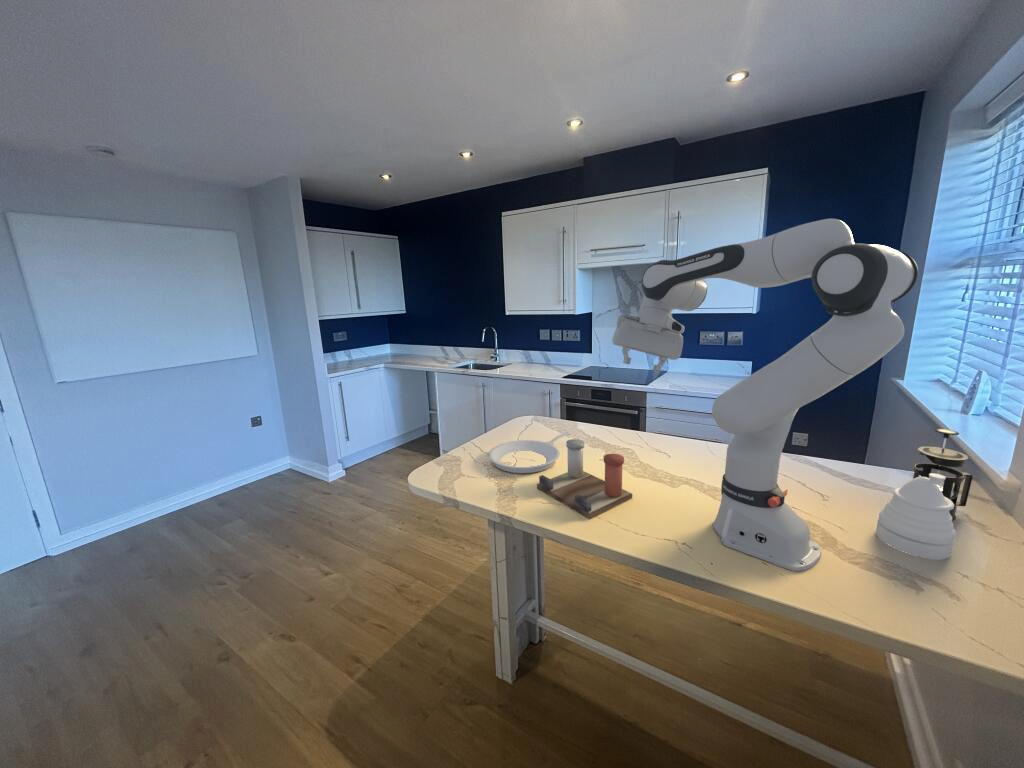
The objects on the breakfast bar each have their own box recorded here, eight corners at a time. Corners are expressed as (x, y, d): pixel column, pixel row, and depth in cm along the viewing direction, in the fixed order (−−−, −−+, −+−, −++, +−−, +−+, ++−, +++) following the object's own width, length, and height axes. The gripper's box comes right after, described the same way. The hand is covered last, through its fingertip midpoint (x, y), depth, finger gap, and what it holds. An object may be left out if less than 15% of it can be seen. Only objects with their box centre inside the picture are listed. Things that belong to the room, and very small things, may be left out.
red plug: (627, 493, 119) (628, 458, 117) (614, 499, 116) (614, 463, 113) (612, 486, 124) (612, 452, 121) (599, 491, 121) (599, 457, 118)
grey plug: (587, 474, 132) (588, 442, 130) (575, 479, 129) (575, 447, 126) (575, 468, 137) (575, 437, 134) (562, 473, 133) (562, 442, 131)
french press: (914, 518, 105) (931, 434, 100) (894, 500, 113) (909, 423, 108) (974, 525, 101) (995, 438, 96) (948, 506, 110) (967, 426, 104)
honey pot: (965, 552, 91) (983, 479, 87) (927, 565, 88) (944, 489, 84) (898, 522, 103) (911, 457, 99) (862, 532, 100) (874, 465, 96)
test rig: (632, 498, 120) (632, 484, 119) (589, 519, 110) (589, 504, 109) (577, 472, 138) (577, 460, 137) (537, 488, 128) (536, 475, 127)
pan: (475, 462, 151) (474, 450, 150) (545, 435, 176) (545, 425, 175) (522, 484, 132) (522, 471, 131) (594, 451, 157) (594, 439, 155)
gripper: (623, 310, 112) (612, 358, 112) (690, 329, 115) (678, 375, 115) (615, 313, 118) (604, 359, 119) (678, 331, 121) (667, 375, 121)
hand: (641, 367), depth 117 cm, fingers open, 8 cm apart
